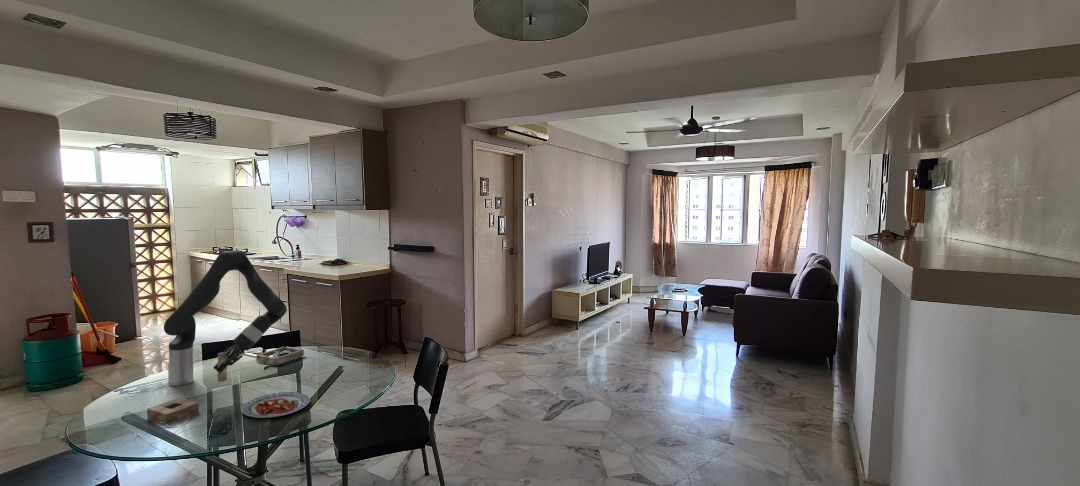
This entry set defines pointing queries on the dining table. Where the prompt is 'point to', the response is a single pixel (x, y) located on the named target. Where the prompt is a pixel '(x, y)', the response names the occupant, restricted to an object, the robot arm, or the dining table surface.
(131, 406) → the dining table surface
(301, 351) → the figure corral
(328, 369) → the dining table surface
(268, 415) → the ceramic plate
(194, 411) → the socket block
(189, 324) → the robot arm
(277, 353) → the soldier figure
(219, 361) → the dowel
